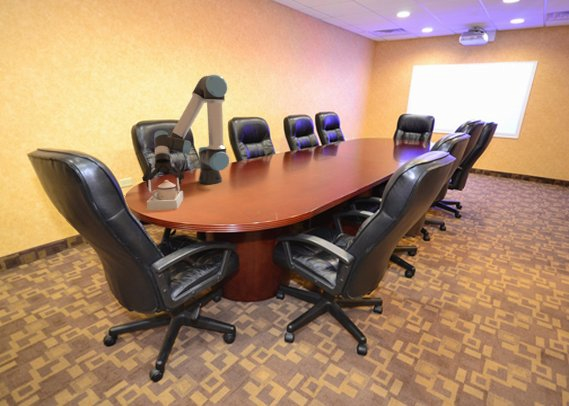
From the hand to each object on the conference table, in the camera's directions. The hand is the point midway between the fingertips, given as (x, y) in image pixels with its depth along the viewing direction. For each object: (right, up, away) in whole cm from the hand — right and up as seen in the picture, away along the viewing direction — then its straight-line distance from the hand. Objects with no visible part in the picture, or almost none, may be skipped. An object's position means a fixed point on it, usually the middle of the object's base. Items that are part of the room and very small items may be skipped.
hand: (164, 191), depth 156 cm
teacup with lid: (-1, -6, +4) cm, 7 cm away
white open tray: (-1, -7, +5) cm, 8 cm away
